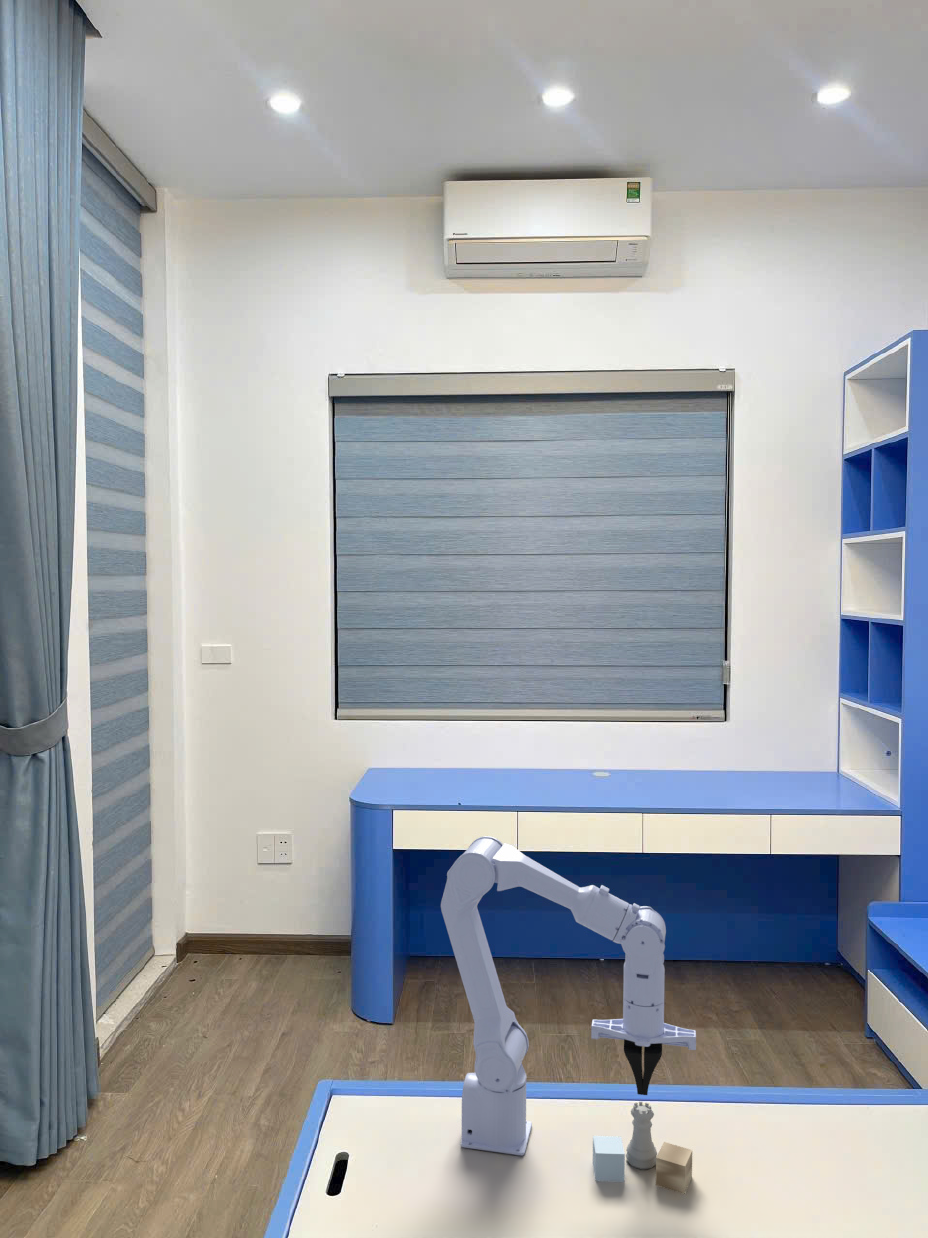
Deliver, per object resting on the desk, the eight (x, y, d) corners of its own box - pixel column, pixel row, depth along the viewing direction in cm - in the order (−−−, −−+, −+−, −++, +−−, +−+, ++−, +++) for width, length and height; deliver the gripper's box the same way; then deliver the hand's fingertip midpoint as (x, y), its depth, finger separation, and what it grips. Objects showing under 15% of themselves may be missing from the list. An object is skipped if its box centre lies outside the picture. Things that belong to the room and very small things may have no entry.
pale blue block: (595, 1181, 127) (595, 1153, 127) (592, 1163, 131) (592, 1136, 131) (624, 1182, 127) (624, 1154, 127) (620, 1164, 131) (621, 1136, 131)
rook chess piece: (657, 1173, 129) (658, 1117, 129) (625, 1169, 130) (625, 1113, 130) (657, 1153, 133) (658, 1099, 133) (626, 1149, 134) (626, 1096, 134)
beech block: (655, 1186, 126) (656, 1157, 126) (663, 1169, 130) (664, 1142, 130) (684, 1195, 125) (685, 1166, 124) (691, 1178, 128) (692, 1150, 128)
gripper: (589, 1005, 128) (589, 1100, 129) (697, 1016, 125) (695, 1113, 126) (593, 983, 135) (593, 1073, 136) (695, 993, 132) (694, 1085, 133)
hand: (642, 1091), depth 131 cm, fingers closed
